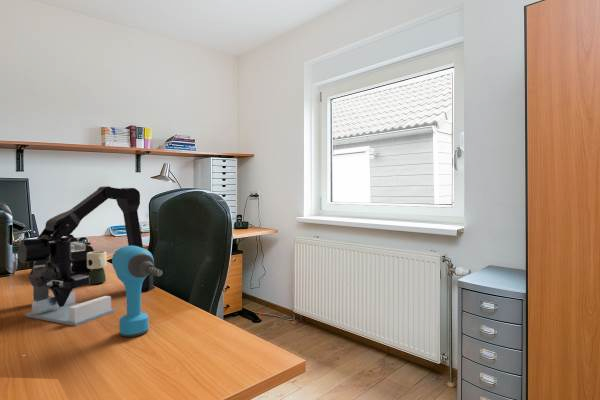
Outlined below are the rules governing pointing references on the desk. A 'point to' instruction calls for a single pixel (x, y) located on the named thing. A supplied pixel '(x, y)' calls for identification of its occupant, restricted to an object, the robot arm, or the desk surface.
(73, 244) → the device stand
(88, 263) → the character mug
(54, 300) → the bar
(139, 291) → the power drill
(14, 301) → the desk surface
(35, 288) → the steel block
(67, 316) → the vise base
